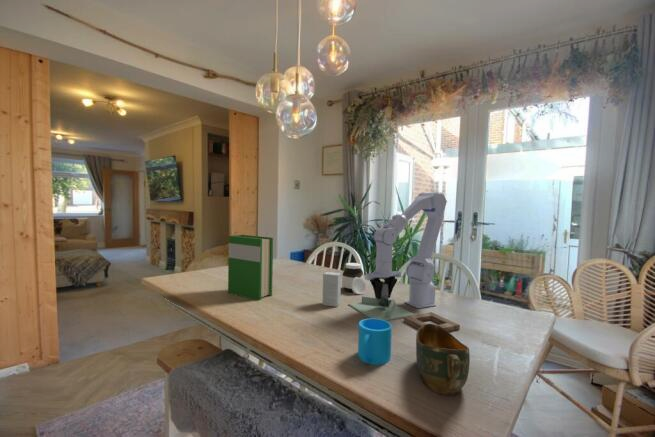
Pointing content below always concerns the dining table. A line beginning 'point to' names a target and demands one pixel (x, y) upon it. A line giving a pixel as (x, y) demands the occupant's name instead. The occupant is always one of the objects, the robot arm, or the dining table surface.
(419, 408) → the dining table surface
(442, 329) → the cup
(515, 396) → the dining table surface
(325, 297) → the skincare box
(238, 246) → the hardback book
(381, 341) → the mug
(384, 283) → the metal axle
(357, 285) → the spread jar
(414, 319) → the brown square frame
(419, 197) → the robot arm
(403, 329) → the dining table surface
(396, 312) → the sage V-block
